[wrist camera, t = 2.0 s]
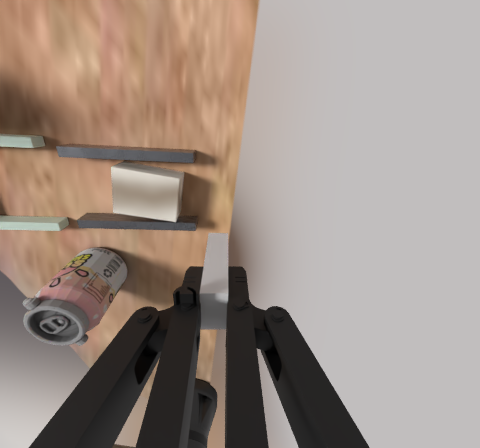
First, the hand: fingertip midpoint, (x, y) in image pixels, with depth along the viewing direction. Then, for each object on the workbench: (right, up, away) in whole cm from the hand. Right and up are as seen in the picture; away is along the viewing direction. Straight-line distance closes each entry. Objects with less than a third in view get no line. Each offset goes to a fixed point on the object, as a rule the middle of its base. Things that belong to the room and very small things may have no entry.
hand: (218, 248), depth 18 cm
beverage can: (-21, -5, +19) cm, 29 cm away
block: (-10, +7, +14) cm, 19 cm away
